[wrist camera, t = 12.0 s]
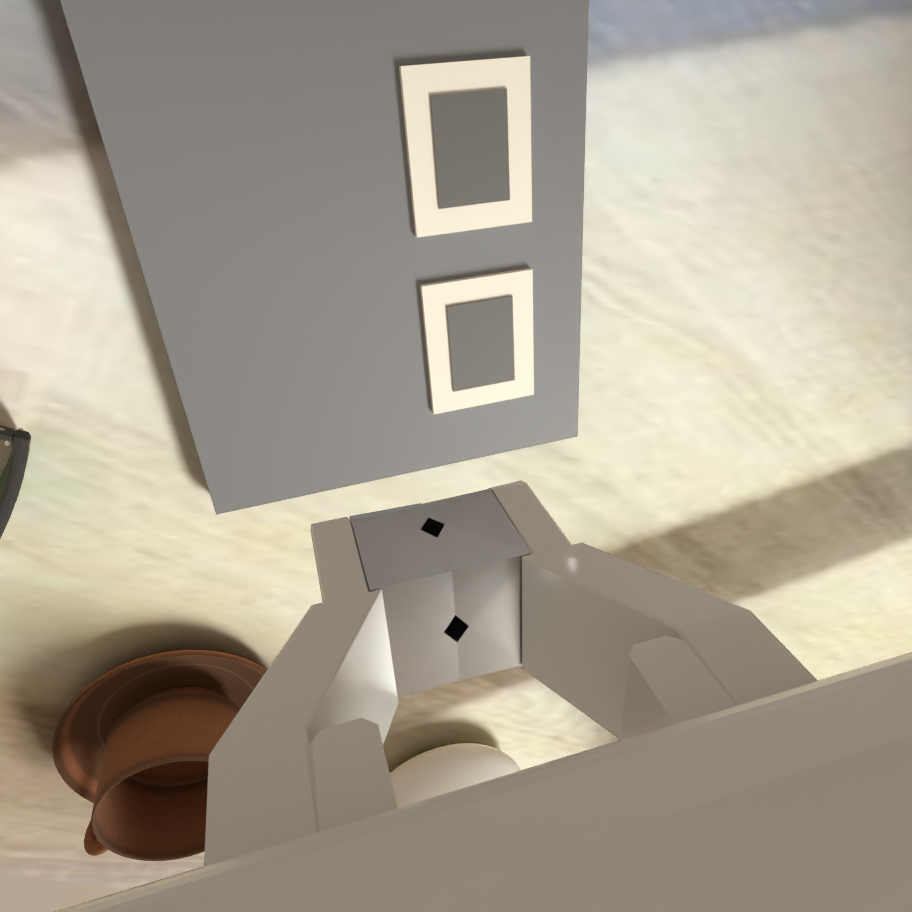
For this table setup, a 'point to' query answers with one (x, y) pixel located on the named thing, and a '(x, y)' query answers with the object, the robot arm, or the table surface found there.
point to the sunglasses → (12, 471)
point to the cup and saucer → (151, 748)
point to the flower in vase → (448, 771)
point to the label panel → (351, 224)
